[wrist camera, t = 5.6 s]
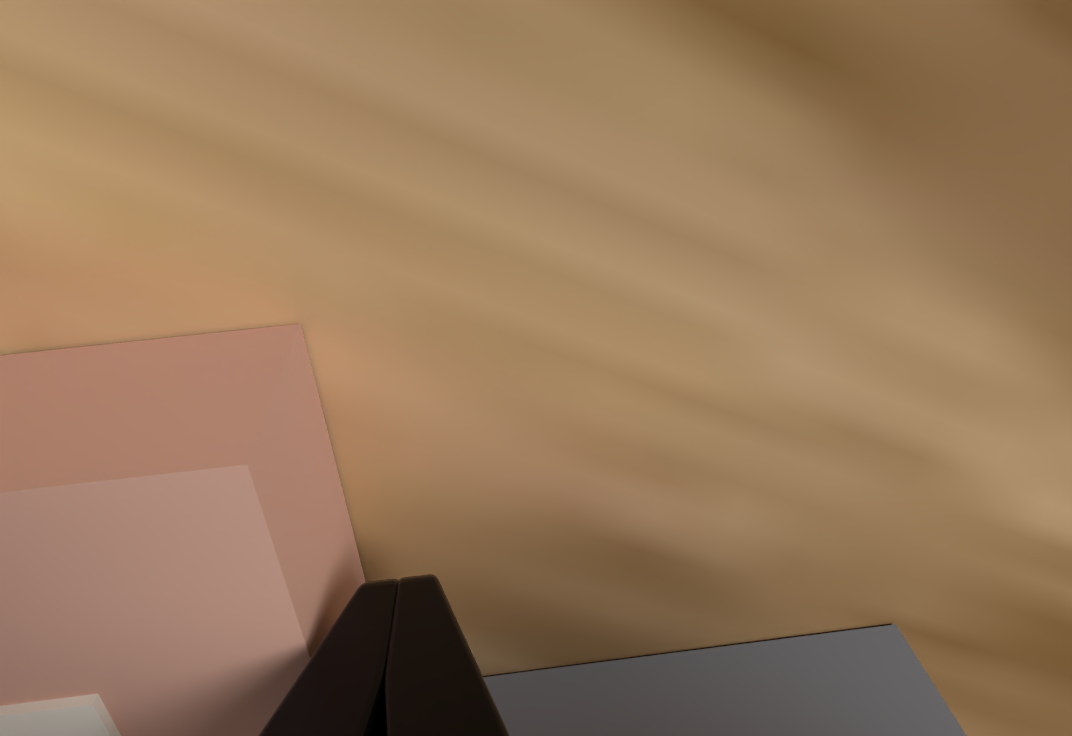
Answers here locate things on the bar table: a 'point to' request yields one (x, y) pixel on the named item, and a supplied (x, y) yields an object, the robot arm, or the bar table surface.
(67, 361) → the pink block
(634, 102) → the bar table surface
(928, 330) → the bar table surface
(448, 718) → the robot arm
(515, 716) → the grey flat block
